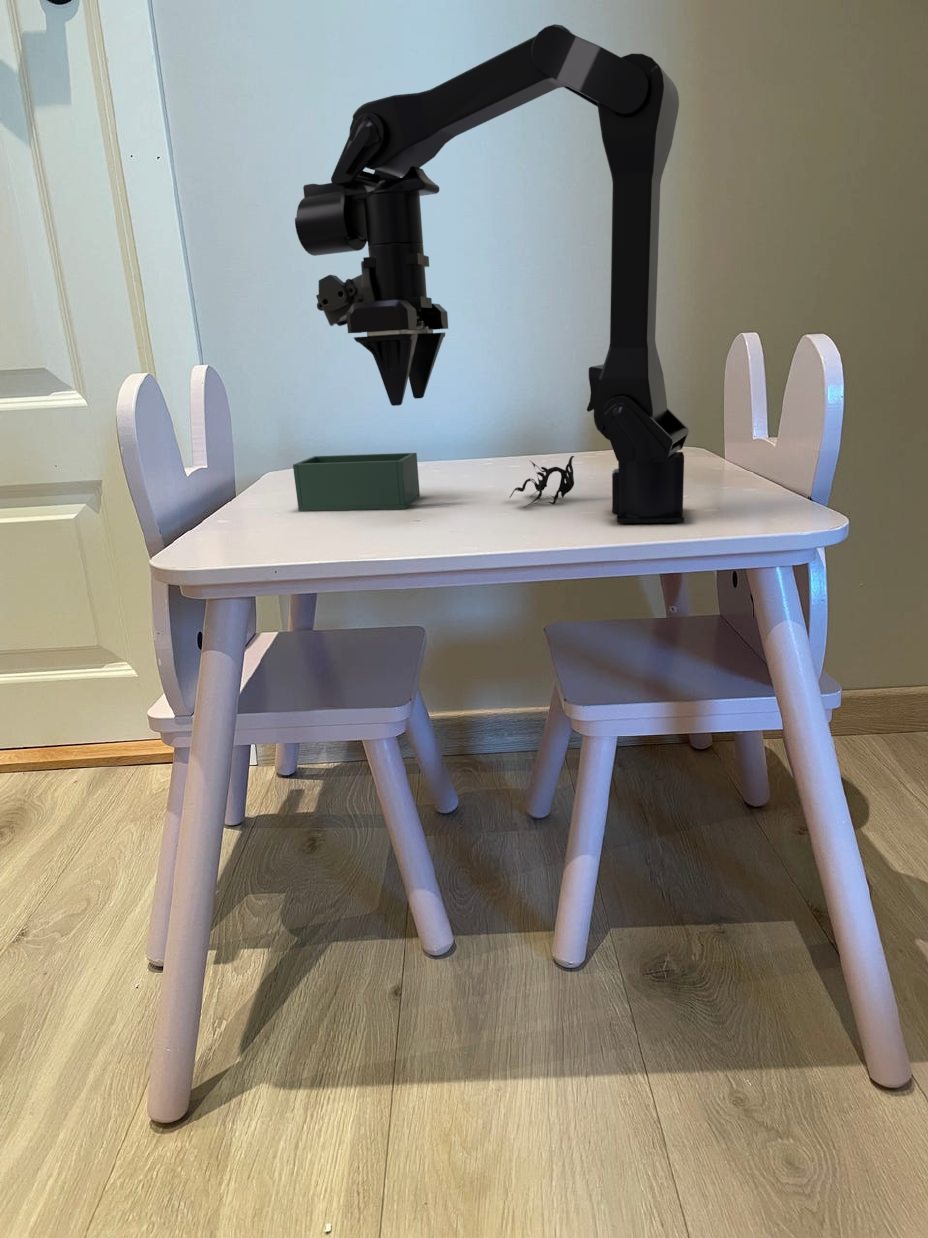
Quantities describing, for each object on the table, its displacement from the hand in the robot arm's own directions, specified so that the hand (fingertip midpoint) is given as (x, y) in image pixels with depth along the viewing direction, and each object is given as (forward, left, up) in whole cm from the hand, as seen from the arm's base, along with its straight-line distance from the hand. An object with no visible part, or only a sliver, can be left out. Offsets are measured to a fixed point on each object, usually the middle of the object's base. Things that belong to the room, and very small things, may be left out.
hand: (408, 401), depth 91 cm
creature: (-14, -3, -12) cm, 19 cm away
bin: (+8, -4, -12) cm, 15 cm away
